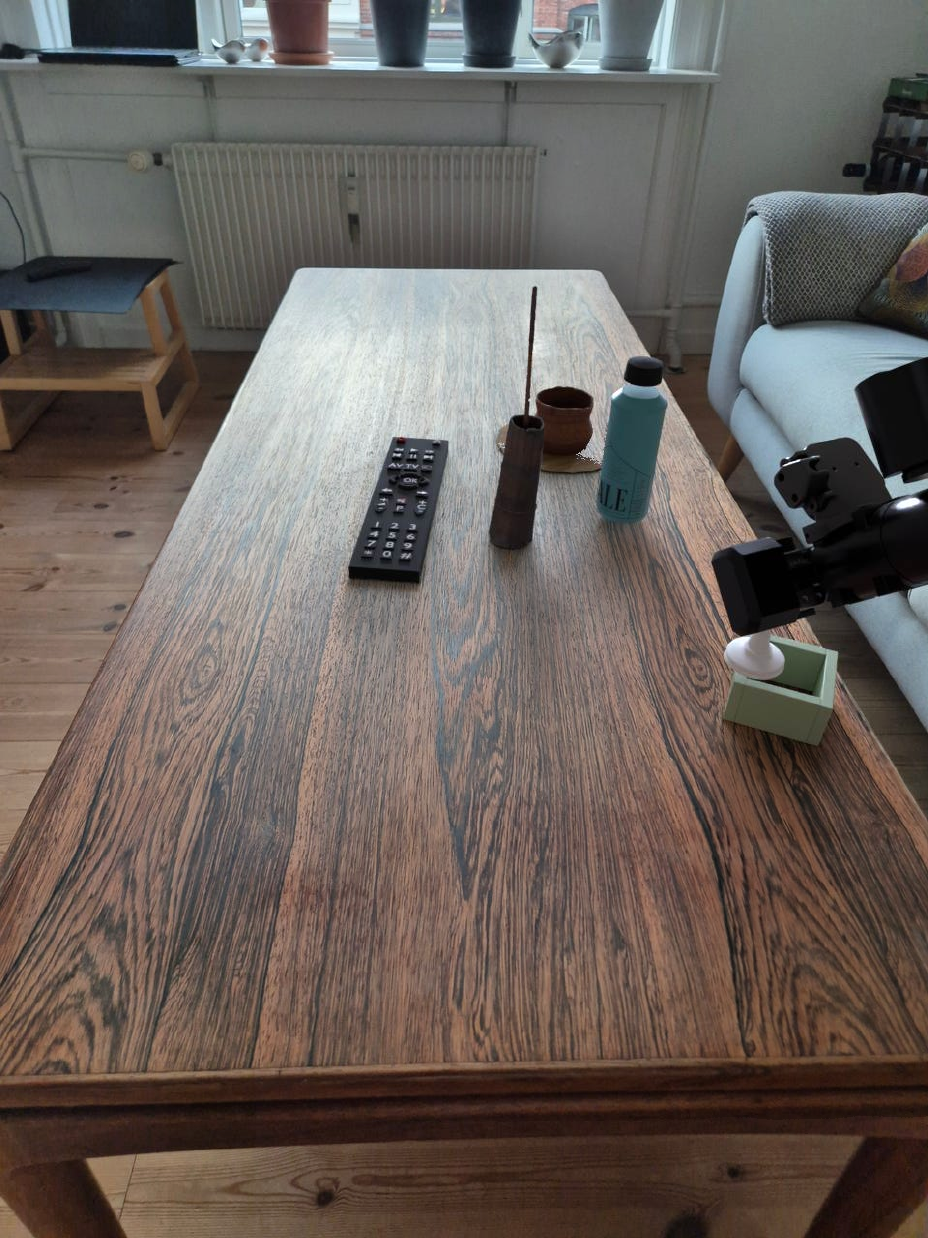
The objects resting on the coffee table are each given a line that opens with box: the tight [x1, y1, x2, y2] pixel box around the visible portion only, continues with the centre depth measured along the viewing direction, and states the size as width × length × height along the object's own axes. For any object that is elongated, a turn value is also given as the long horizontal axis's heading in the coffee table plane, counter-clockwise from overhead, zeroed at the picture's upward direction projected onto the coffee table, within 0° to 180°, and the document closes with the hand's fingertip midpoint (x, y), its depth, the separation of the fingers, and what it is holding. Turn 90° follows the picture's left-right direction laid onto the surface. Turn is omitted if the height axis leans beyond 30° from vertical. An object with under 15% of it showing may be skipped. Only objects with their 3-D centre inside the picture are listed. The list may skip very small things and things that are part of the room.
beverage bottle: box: [595, 355, 669, 524], centre depth 96 cm, size 6×7×20 cm
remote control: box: [347, 436, 449, 584], centre depth 102 cm, size 8×32×2 cm, turn 175°
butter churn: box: [488, 285, 545, 550], centre depth 89 cm, size 9×10×28 cm
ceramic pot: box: [495, 385, 603, 474], centre depth 116 cm, size 18×18×7 cm
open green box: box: [722, 634, 839, 747], centre depth 76 cm, size 8×8×4 cm
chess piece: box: [723, 629, 785, 681], centre depth 68 cm, size 5×5×10 cm
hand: (762, 589), depth 68 cm, fingers closed on chess piece
